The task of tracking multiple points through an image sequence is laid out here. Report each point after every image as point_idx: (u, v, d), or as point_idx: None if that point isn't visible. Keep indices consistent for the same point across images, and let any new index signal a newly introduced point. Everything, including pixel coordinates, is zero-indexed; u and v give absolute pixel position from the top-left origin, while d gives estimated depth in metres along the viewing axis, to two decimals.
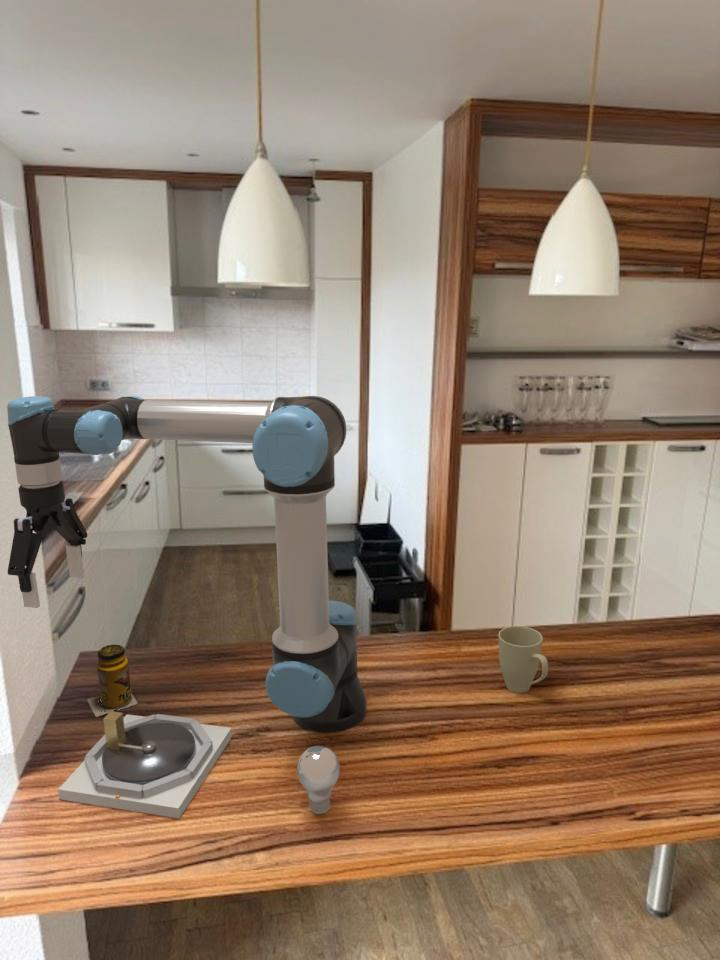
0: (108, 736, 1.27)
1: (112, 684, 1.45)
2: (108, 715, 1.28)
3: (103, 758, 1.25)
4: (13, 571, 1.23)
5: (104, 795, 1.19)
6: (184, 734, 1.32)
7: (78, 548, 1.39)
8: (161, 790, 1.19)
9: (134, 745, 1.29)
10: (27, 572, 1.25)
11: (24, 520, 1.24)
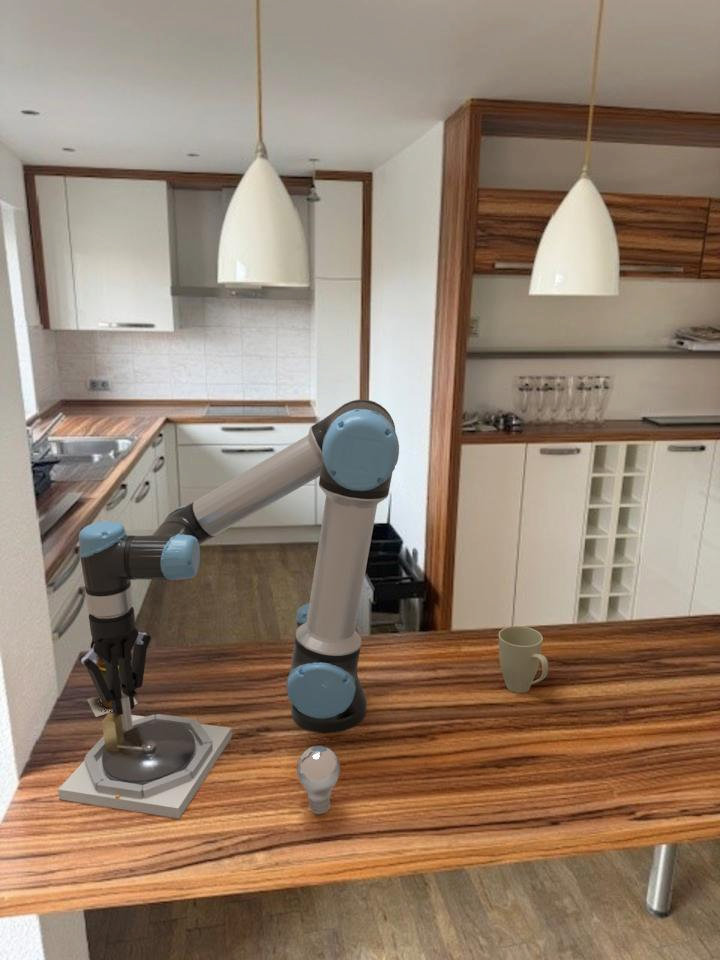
0: (107, 738, 1.27)
1: None
2: (106, 717, 1.27)
3: (103, 760, 1.25)
4: (102, 697, 1.26)
5: (104, 795, 1.19)
6: (183, 733, 1.32)
7: (126, 699, 1.29)
8: (161, 790, 1.19)
9: (133, 746, 1.29)
10: (117, 699, 1.27)
11: (84, 663, 1.22)
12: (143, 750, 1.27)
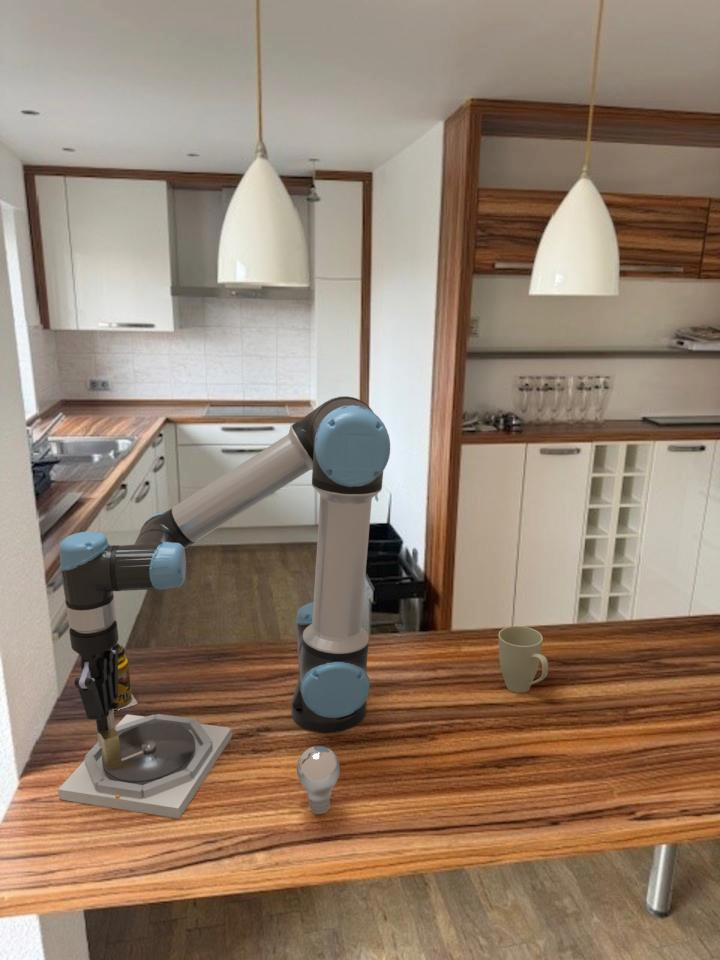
0: (110, 756, 1.22)
1: None
2: (104, 736, 1.22)
3: (119, 776, 1.21)
4: (94, 718, 1.21)
5: (104, 795, 1.19)
6: (160, 726, 1.34)
7: (111, 713, 1.24)
8: (161, 790, 1.19)
9: (131, 754, 1.26)
10: (106, 715, 1.23)
11: (86, 683, 1.16)
12: (147, 751, 1.27)
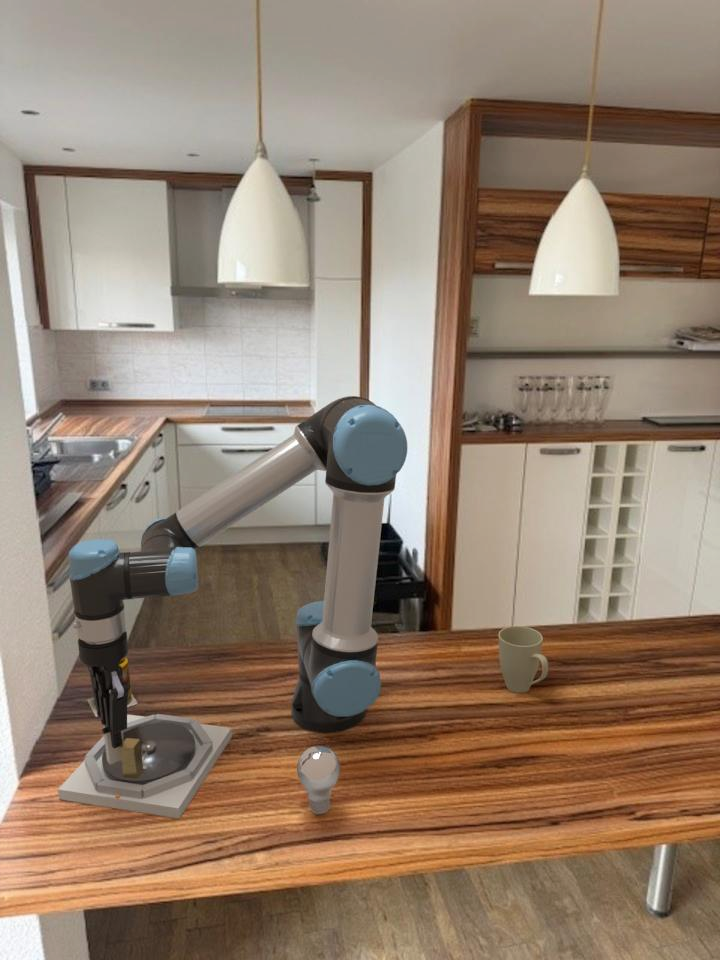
0: (137, 763, 1.20)
1: None
2: (127, 746, 1.19)
3: (155, 775, 1.21)
4: (119, 730, 1.17)
5: (104, 795, 1.19)
6: (131, 733, 1.32)
7: None
8: (161, 790, 1.19)
9: None
10: None
11: (125, 689, 1.13)
12: (153, 749, 1.27)
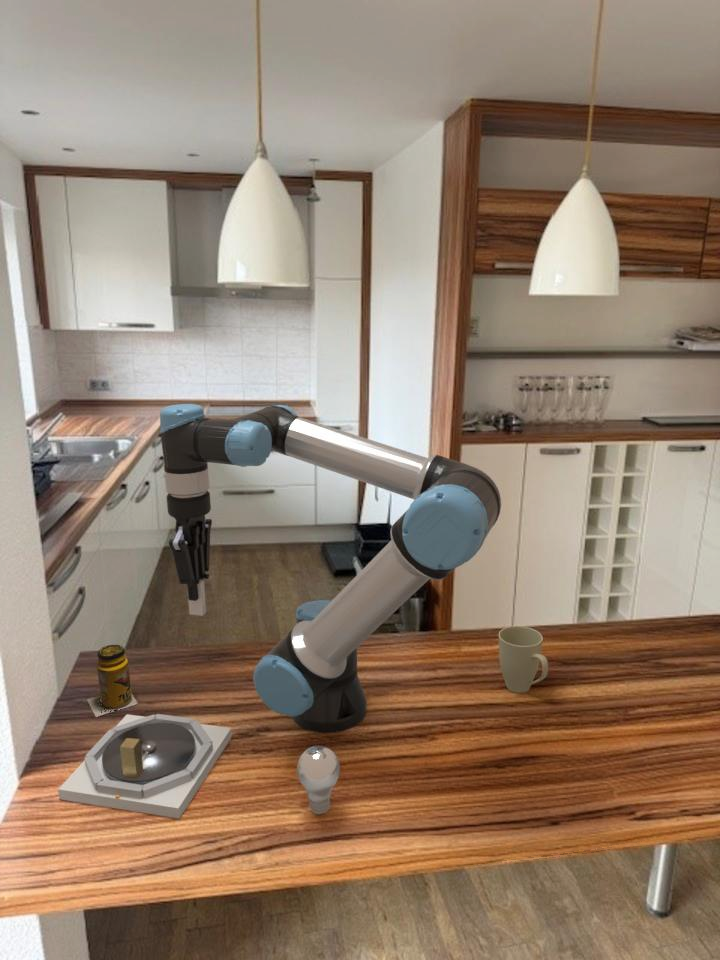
0: (137, 763, 1.20)
1: (112, 684, 1.45)
2: (127, 746, 1.19)
3: (155, 775, 1.21)
4: (185, 582, 1.28)
5: (104, 795, 1.19)
6: (131, 733, 1.32)
7: (202, 582, 1.31)
8: (161, 790, 1.19)
9: None
10: (197, 582, 1.30)
11: (179, 543, 1.23)
12: (153, 749, 1.27)
